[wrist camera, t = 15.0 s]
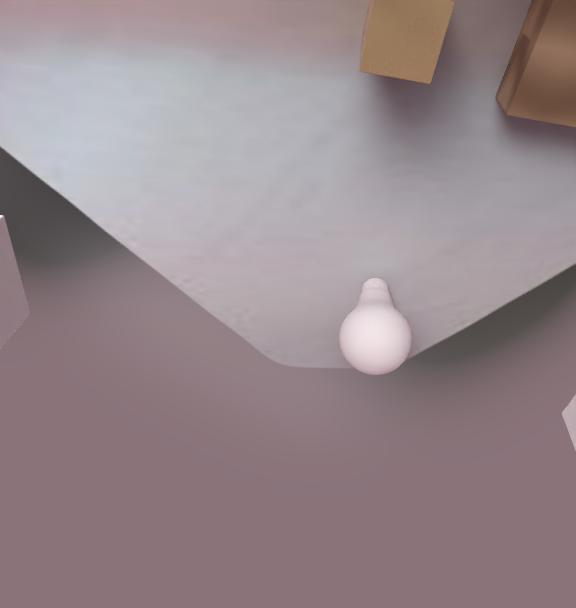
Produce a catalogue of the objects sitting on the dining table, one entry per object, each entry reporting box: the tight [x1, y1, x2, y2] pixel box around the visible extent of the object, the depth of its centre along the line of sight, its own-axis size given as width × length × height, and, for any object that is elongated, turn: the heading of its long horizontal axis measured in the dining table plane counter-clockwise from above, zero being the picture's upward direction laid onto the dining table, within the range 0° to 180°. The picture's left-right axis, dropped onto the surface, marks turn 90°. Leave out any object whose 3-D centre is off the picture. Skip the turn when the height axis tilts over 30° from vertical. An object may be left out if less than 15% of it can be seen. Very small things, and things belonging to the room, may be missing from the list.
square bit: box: [360, 0, 455, 84], centre depth 31 cm, size 4×4×10 cm
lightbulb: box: [339, 278, 412, 375], centre depth 45 cm, size 6×6×11 cm
